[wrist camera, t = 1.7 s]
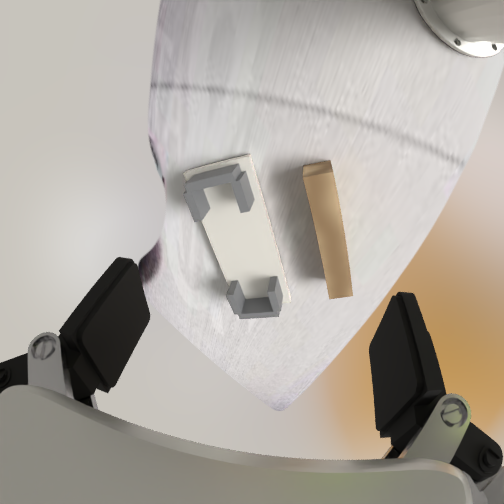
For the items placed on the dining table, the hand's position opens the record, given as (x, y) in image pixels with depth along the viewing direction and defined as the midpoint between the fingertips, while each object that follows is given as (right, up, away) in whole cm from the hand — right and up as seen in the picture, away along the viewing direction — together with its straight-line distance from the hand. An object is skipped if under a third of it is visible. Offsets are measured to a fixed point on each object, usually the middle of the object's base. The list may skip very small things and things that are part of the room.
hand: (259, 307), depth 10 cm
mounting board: (-1, +3, +27) cm, 27 cm away
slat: (+9, +5, +24) cm, 26 cm away
